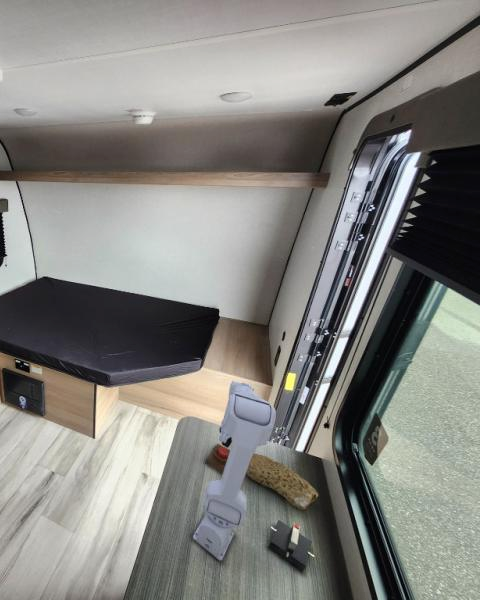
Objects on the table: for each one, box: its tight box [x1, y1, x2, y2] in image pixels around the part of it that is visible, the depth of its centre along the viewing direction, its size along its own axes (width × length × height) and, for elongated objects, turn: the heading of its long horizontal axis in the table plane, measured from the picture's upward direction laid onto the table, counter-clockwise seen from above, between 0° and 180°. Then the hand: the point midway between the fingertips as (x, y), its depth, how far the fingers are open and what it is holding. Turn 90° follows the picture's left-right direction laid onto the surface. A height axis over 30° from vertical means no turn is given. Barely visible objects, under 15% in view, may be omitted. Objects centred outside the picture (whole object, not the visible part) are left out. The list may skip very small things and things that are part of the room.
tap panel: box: [268, 519, 315, 573], centre depth 84 cm, size 10×10×3 cm
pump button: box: [217, 446, 230, 459], centre depth 108 cm, size 4×4×2 cm
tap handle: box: [287, 522, 301, 552], centre depth 83 cm, size 6×1×4 cm, turn 141°
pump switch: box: [205, 443, 231, 475], centre depth 109 cm, size 10×7×4 cm
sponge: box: [245, 453, 319, 511], centre depth 100 cm, size 13×8×20 cm
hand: (225, 445), depth 107 cm, fingers closed
